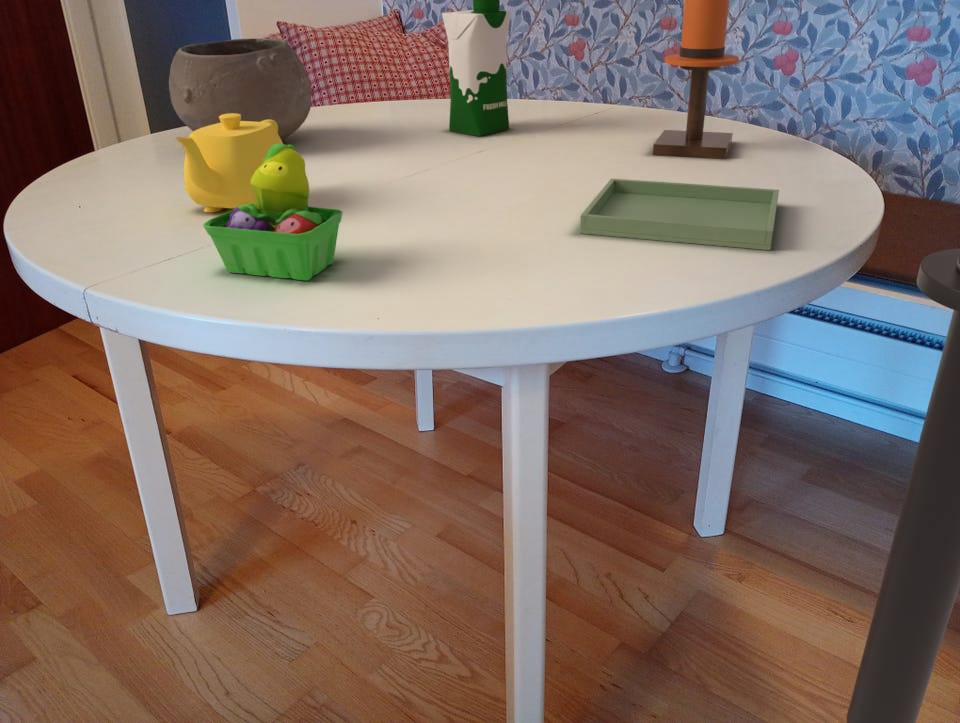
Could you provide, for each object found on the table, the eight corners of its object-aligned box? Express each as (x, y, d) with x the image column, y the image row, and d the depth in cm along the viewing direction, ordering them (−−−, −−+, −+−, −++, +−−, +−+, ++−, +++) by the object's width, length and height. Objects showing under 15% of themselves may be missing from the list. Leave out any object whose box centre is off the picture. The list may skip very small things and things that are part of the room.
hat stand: (731, 143, 122) (741, 57, 116) (725, 158, 114) (735, 67, 108) (663, 139, 125) (670, 56, 119) (652, 154, 117) (659, 66, 111)
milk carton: (480, 138, 129) (476, -1, 120) (440, 131, 134) (434, -2, 125) (517, 129, 134) (517, -4, 125) (477, 122, 140) (474, -6, 131)
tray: (776, 206, 93) (779, 189, 92) (770, 250, 81) (773, 231, 80) (610, 194, 99) (610, 178, 98) (579, 233, 87) (580, 215, 86)
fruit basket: (207, 276, 78) (185, 157, 73) (258, 246, 86) (241, 136, 81) (312, 288, 75) (297, 165, 70) (356, 256, 82) (345, 142, 77)
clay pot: (319, 153, 122) (307, 46, 115) (173, 164, 119) (151, 54, 112) (314, 126, 141) (303, 32, 134) (187, 135, 137) (169, 38, 130)
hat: (741, 57, 116) (749, -9, 112) (735, 67, 108) (743, -4, 104) (670, 56, 119) (675, -9, 116) (659, 66, 111) (664, -4, 107)
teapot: (233, 234, 89) (216, 134, 84) (152, 225, 93) (132, 129, 88) (319, 190, 104) (309, 103, 99) (247, 184, 108) (233, 99, 103)
